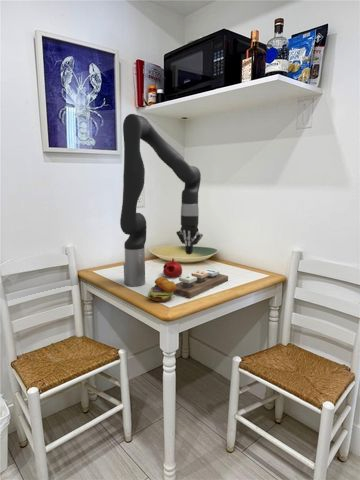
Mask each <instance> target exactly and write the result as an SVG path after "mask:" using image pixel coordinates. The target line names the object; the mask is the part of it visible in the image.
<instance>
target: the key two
mask: <svg viewBox="0 0 360 480" xmlns="http://www.w3.org/2000/svg"><path fill="white" fill-rule="evenodd" d="M204 271H205V270H196V271H193V272H191V276H194V277H197V280H196V282H200V283H201V282H204V281H205V277H206V276H209V273H208V272H204Z"/></svg>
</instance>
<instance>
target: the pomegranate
mask: <svg viewBox="0 0 360 480" xmlns="http://www.w3.org/2000/svg"><path fill="white" fill-rule="evenodd" d="M180 262H181V261H179V260H177V261H175V258H172V259H171V260H168V261H167V260H166V262H165V263H164V265H163V270H162V272H163V276H165V277H167V278H170V279H172V278H174V279H175V278H180V277H181V276H182V274H183V268H182V267H183V266H182V265H181V264H180Z"/></svg>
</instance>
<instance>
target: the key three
mask: <svg viewBox="0 0 360 480" xmlns="http://www.w3.org/2000/svg"><path fill="white" fill-rule="evenodd" d="M203 271H204V272H208V273H209V276H207V277H209V278H214V277H215V275H217V274H220V271H219V270H216V269H212V268H209V269H205V270H203Z"/></svg>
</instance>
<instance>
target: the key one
mask: <svg viewBox="0 0 360 480" xmlns="http://www.w3.org/2000/svg"><path fill="white" fill-rule="evenodd" d="M196 280H197V277H194V276H192V275H188V274H186V275H183V276H182V275H181V276H179V277H178V281H179V282H183V286H184V287H187V288H189V287H192V286H193V282H194V281H196Z"/></svg>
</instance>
